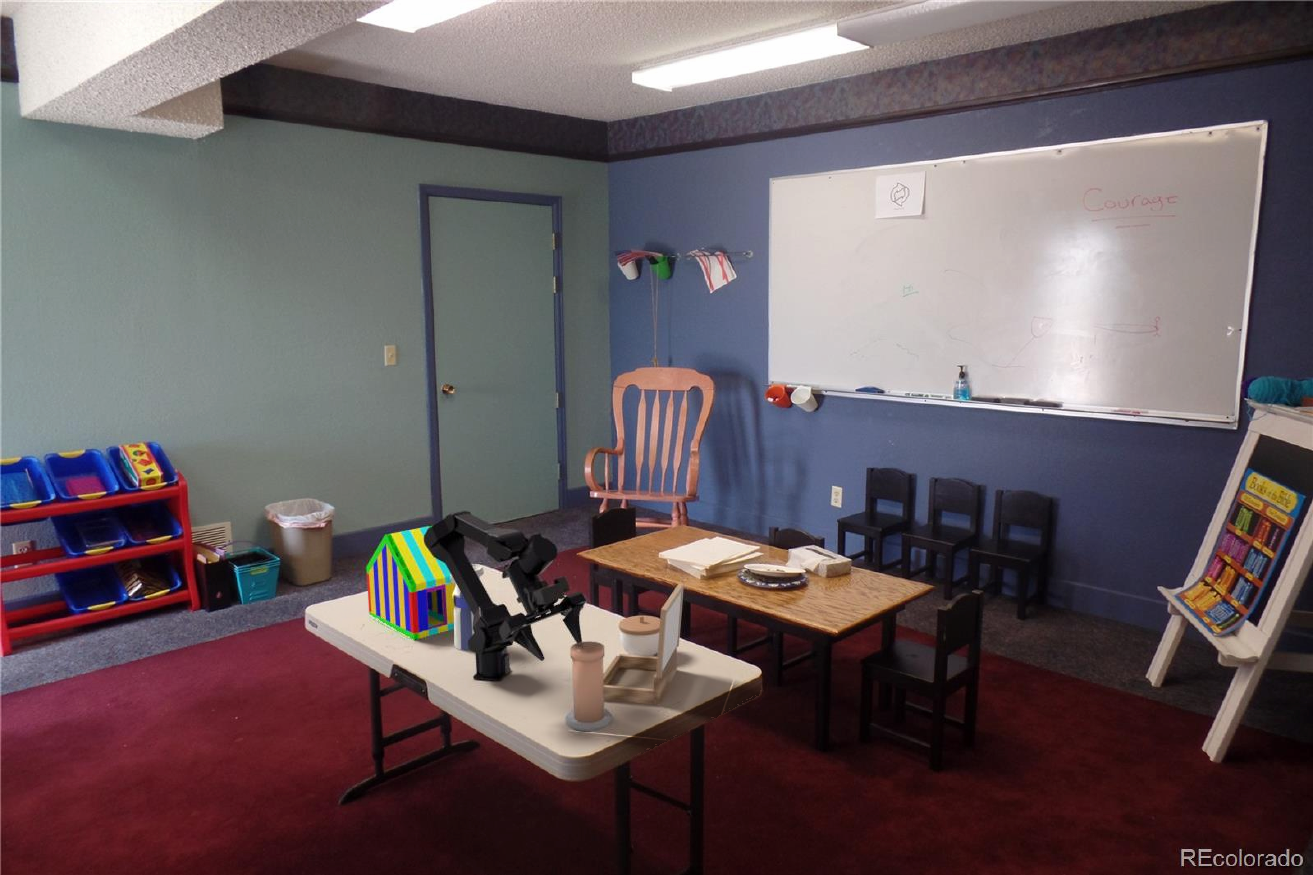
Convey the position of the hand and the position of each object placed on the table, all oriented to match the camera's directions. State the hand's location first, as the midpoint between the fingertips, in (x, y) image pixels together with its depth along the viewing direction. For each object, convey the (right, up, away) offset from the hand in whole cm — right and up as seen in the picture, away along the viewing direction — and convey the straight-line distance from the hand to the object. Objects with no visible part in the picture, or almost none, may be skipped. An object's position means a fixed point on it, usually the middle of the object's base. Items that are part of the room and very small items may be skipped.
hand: (562, 652), depth 176 cm
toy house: (-45, -6, +53) cm, 70 cm away
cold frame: (+15, -10, +12) cm, 21 cm away
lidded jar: (+16, -8, +29) cm, 34 cm away
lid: (+22, -4, +9) cm, 24 cm away
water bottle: (-27, -7, +37) cm, 46 cm away
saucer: (+6, -12, -5) cm, 14 cm away
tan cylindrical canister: (+6, -11, -5) cm, 14 cm away
